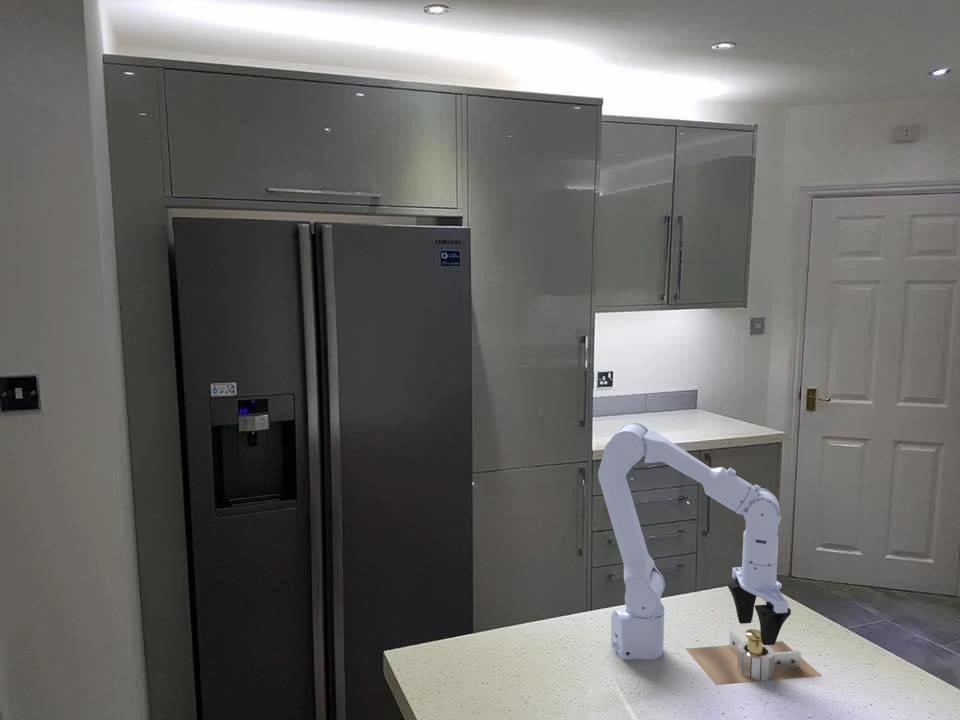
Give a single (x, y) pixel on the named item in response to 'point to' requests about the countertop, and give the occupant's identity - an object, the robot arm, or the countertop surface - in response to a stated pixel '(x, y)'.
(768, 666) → the grey winged collar
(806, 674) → the walnut board
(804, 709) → the countertop surface
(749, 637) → the brass cabinet knob
